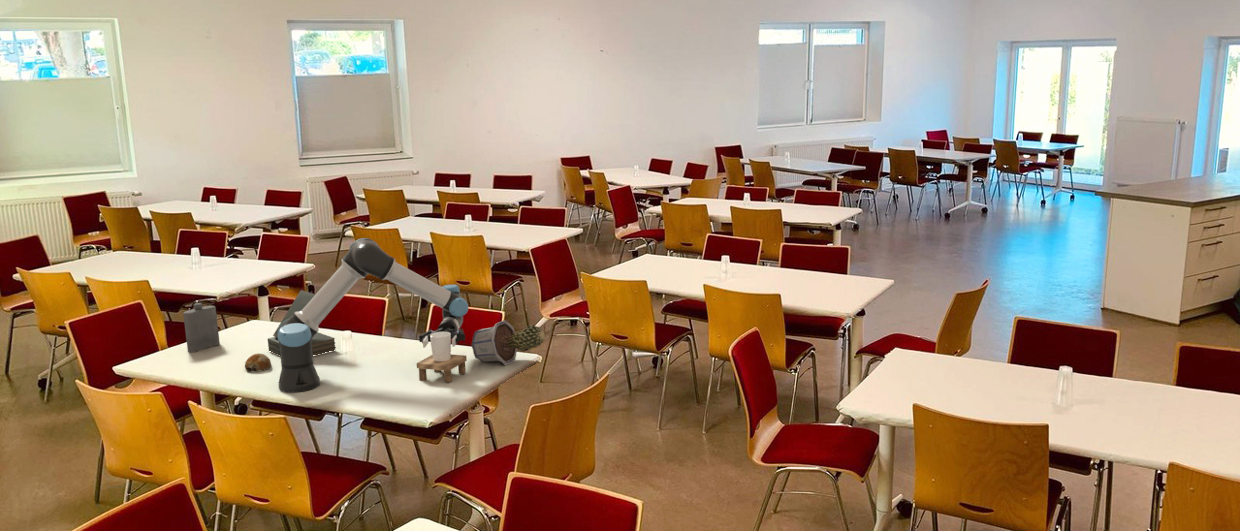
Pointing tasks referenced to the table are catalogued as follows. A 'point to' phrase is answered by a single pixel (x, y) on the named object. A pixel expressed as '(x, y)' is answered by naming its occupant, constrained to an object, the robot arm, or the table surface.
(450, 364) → the stool
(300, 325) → the robot arm
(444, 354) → the white cup
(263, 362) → the bread roll
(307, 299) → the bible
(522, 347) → the potted plant
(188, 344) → the flask
